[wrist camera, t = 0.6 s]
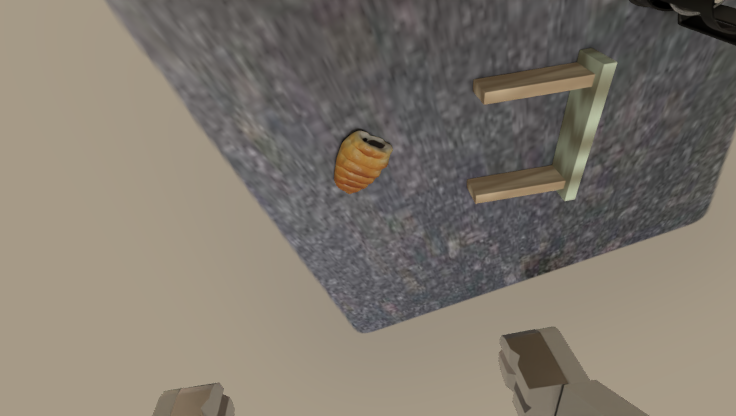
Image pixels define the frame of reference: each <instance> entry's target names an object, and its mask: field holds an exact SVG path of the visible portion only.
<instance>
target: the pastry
mask: <svg viewBox="0 0 736 416" xmlns="http://www.w3.org/2000/svg"><path fill="white" fill-rule="evenodd" d="M392 151H393V149H392V146H391V145H390V144H388V143H386V142H385V141H384V140H383V139H381V138H379V137H375V136H370V135H369V134H368V133H366V132H364V131H356V132H354V133H352V134H351V135H350V136H348V137H347V138H346V139H345V140H344V141H343V143H342V145H341V147H340V150H339V153H338V156H337V159H336V166H335V173H334V181H335V183H336V185H337V186H338V188H340V189H341V190H343V191H345V192H346V193H348V194H351V193H354V192H358V191H359V190H361V189H364V188H366V187H367V186H368V184H370V183H373V181H374V180H375V178H377V177H379V175H380V173H381V170H382V169H383V168H385V167H386V166H387V165H388V161H389V156H390V154H391V152H392Z"/></svg>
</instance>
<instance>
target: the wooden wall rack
mask: <svg viewBox="0 0 736 416" xmlns="http://www.w3.org/2000/svg"><path fill="white" fill-rule="evenodd" d="M616 65H617V62H616V61H614V60H613V59H611V58H609V57H607V56H606V55H604V54H602V53H600V52H598V51H597V50H595V49H593V48H588V49H582V50H580V51H579V55H578V60H577V62H576V63H570V64H564V65H558V66H552V67H546V68H540V69H534V70H528V71H522V72H516V73H510V74H504V75H498V76H492V77H486V78H480V79H474V83H473V92H474V93H475V94H476V95H477V97H478V98H479V99H480V100H481V102H482V103H483V104H484V105H485V104H491V103H497V102H503V101H509V100H515V99H521V98H527V97H533V96H539V95H545V94H551V93H557V92H563V91H569V90H570V93H569V97H568V101H567V105H566V109H565V114H564V118H563V122H562V126H561V130H560V134H559V139H558V143H557V147H556V151H555V155H554V159H553V163H552V165H550V166H544V167H538V168H532V169H526V170H520V171H514V172H508V173H502V174H496V175H490V176H484V177H478V178H472V179H467V188H468V190H469V192H470V194H471V196H472V198H473V200H474V202H475V204H476V203H482V202H488V201H494V200H500V199H506V198H512V197H518V196H524V195H530V194H536V193H542V192H548V191H554V190H556V191H557V192H558V193H559V195H560V196H561V197H562V198H563V200H564V201H568V200H573V199H575V197H576V194H577V190H578V187H579V184H580V181H581V177H582V174H583V171H584V168H585V165H586V161H587V158H588V155H589V152H590V149H591V145H592V142H593V139H594V136H595V132H596V129H597V126H598V123H599V120H600V116H601V113H602V110H603V107H604V104H605V100H606V97H607V94H608V91H609V87H610V84H611V81H612V78H613V75H614V71H615V68H616Z"/></svg>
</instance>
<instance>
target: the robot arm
mask: <svg viewBox="0 0 736 416" xmlns="http://www.w3.org/2000/svg"><path fill="white" fill-rule="evenodd" d="M500 345H501V348H502V350H501V351H500V352H499V365H500V370H501V373H502V376H503V379H504V382H505V384H506V386H507V387H508V388H509V389H511V390H512V391H513V392H514V395H513V404H514V406H515V408H516V411H517V413H518V416H649V415H647V414H646V413H644V412H643V411H641V410H640V409H638V408H637V407H635V406H634V405H632V404H631V403H629V402H628V401H627V400H625V399H624V398H622V397H620V396H619V395H618V394H616V393H615V392H613V391H611V390H610V389H609V388H607V387H606V386H604V385H603V384H601V383H600V382H598V381H597V380H591V381H590V379H589V378H588V376H587V374H586V373H585V371H584V370H583V368H582V366H581V365H580V363H579V362H578V360H577V358H576V357H575V355H574V354H573V352H572V350H571V349H570V347H569V346H568V344H567V342H566V341H565V339H564V338H563V336H562V334H561V333H560V331H559V330H558V329H557V328H556V327H548V328H543V329H537V330H535V329H534V330H528V331H523V332H518V333H512V334H507V335H502V336H501V337H500ZM223 390H224V388H223V387H222V386H221V384H220V383H213V384H207V385H201V386H194V387H188V388H180V389H174V390H168V391H164V393H163V394H162V395H161V396H160V398H159V400H158V403H157V405H156V408H155V410H154V413H153V415H152V416H234V406H233V402H232V400H231V399H230V397H228V396H226V395H223Z"/></svg>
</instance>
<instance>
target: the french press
mask: <svg viewBox="0 0 736 416" xmlns="http://www.w3.org/2000/svg"><path fill="white" fill-rule="evenodd" d="M629 1H630V2H632V3H633V4H635V5H637V6H642V7H651V8H654V9H657V10H661V11H673V10H675V11H676V12H678V24H679V25H681V26H683V27H686V28H689V29H691V30H694V31H697V32H700V33H702V34H705V35H708V36H711V37H713V38H716V39H719V40H722V41H724V42H727V43H730V44H733V45H735V46H736V8H732V7H728V6H725V5H721V4H722V3H723V2H724V1H725V0H629ZM698 14H699V15H698ZM700 15H701V16H700ZM716 20H717V21H716ZM719 21H721V22H719ZM722 22H724V23H722ZM725 23H727V24H725ZM729 24H730V25H729ZM732 25H733V26H732Z"/></svg>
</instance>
